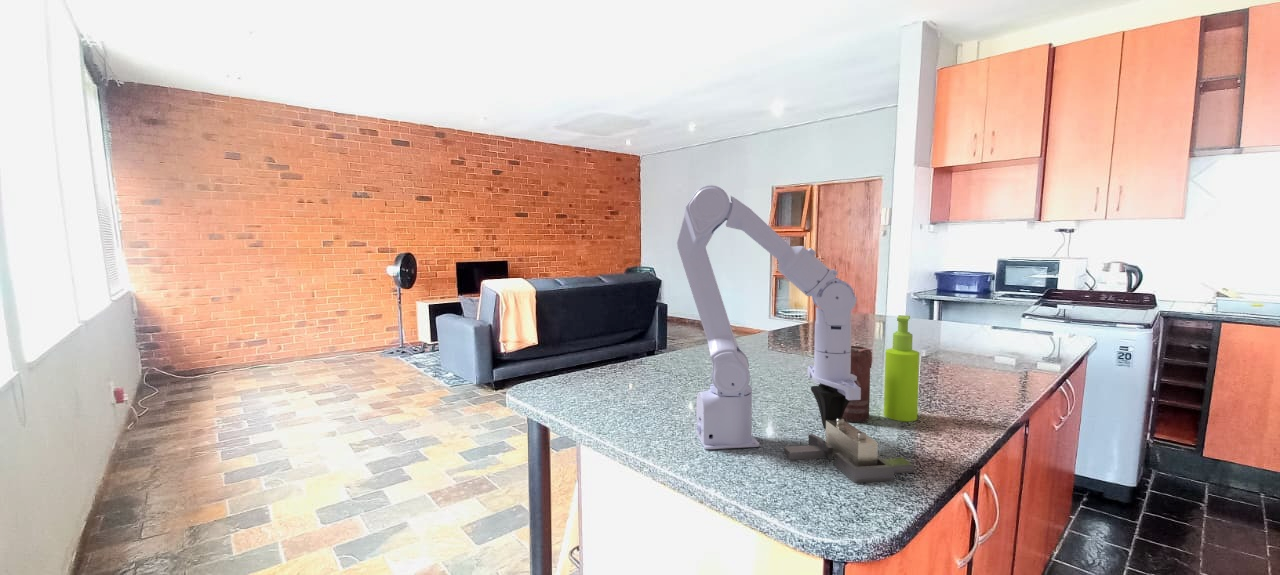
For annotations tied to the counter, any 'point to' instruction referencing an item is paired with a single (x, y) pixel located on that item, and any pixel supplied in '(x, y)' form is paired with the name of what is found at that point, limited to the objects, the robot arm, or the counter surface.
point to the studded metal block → (851, 443)
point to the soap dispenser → (901, 375)
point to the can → (860, 385)
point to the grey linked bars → (855, 474)
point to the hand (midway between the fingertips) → (831, 429)
